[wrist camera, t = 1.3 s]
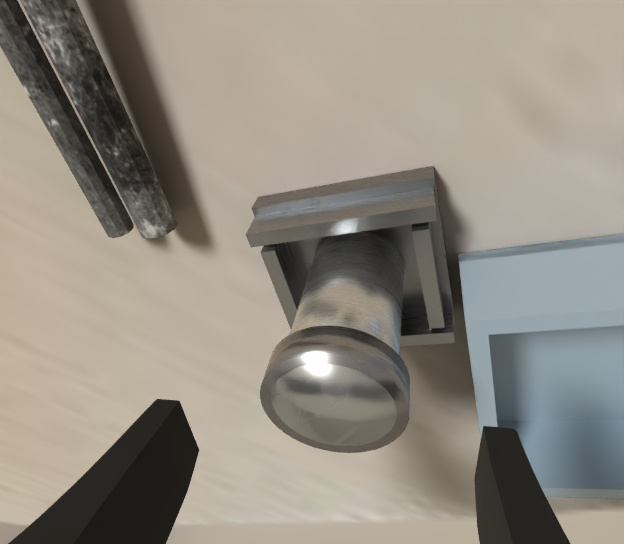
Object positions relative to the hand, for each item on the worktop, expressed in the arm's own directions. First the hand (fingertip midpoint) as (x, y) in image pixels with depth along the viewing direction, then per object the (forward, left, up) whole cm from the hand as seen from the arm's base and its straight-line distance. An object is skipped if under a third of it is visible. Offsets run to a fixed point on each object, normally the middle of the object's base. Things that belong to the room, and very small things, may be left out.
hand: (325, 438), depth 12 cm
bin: (-8, +5, -8) cm, 12 cm away
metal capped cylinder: (0, 0, -7) cm, 7 cm away
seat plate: (0, 0, -8) cm, 8 cm away
